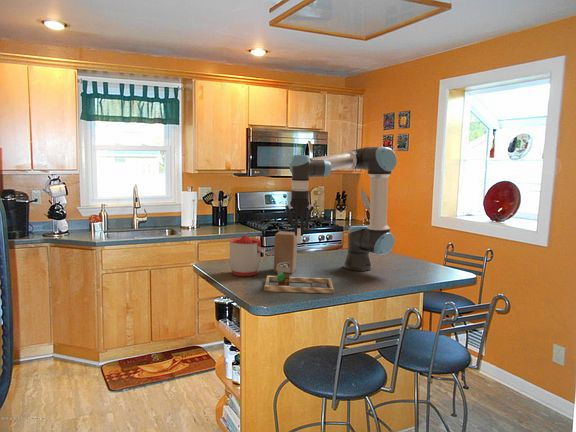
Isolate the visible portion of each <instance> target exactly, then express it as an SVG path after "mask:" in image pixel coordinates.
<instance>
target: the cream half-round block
mask: <svg viewBox="0 0 576 432" xmlns="http://www.w3.org/2000/svg"><path fill="white" fill-rule="evenodd" d="M276 270H278V273H277V276H278V281H277V286H290V282H289V277H291V276H290V275H291V274H290V262H281V263H278V264H277V267H276Z"/></svg>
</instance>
